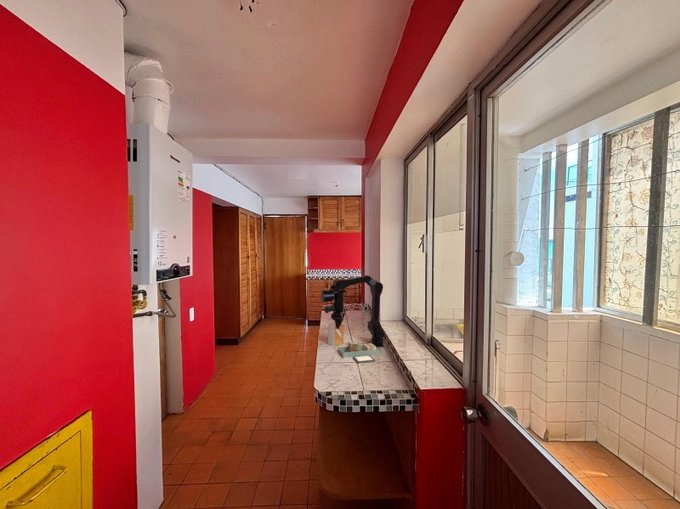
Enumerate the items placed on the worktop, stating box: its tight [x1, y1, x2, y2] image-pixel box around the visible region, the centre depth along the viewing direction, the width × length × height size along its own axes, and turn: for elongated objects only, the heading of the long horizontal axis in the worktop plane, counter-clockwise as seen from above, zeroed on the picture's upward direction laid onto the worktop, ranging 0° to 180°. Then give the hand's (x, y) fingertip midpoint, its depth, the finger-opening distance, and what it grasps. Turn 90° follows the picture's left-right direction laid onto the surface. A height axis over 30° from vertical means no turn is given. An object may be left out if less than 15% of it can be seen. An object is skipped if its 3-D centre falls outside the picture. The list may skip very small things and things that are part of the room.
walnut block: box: [347, 341, 360, 352], centre depth 176 cm, size 5×5×6 cm
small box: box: [327, 321, 345, 347], centre depth 193 cm, size 8×6×13 cm
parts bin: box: [337, 344, 380, 358], centre depth 177 cm, size 22×11×2 cm, turn 106°
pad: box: [352, 355, 376, 364], centre depth 165 cm, size 10×8×1 cm
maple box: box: [362, 342, 377, 351], centre depth 179 cm, size 5×7×4 cm
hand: (338, 327), depth 180 cm, fingers open, 9 cm apart
